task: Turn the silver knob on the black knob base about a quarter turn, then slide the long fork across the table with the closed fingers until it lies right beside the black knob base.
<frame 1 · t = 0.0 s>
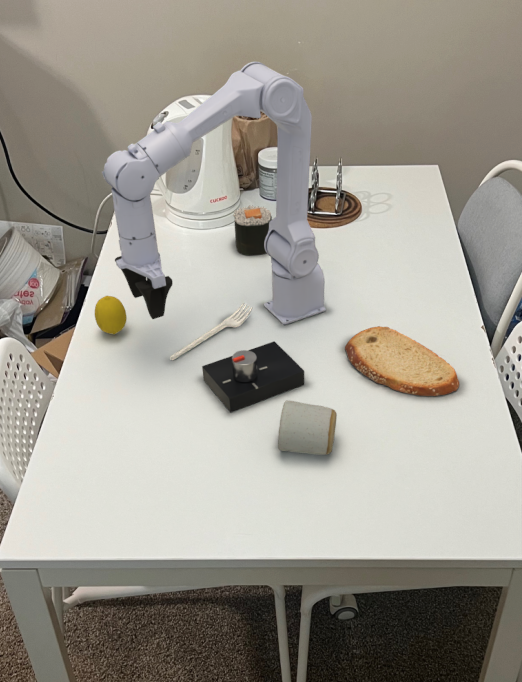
hand: (148, 305, 126), 10 cm above the table, tool pointing down, fingers open, 7 cm apart
hob knob: (244, 365, 122), point 5 cm above the table, hinge at 0.0°
fork: (211, 337, 137), on the table
sushi: (253, 247, 162), on the table
lemon: (114, 334, 137), on the table
ceramic mug: (306, 441, 115), on the table
black knob base: (253, 382, 126), on the table
bread slice: (399, 366, 130), on the table
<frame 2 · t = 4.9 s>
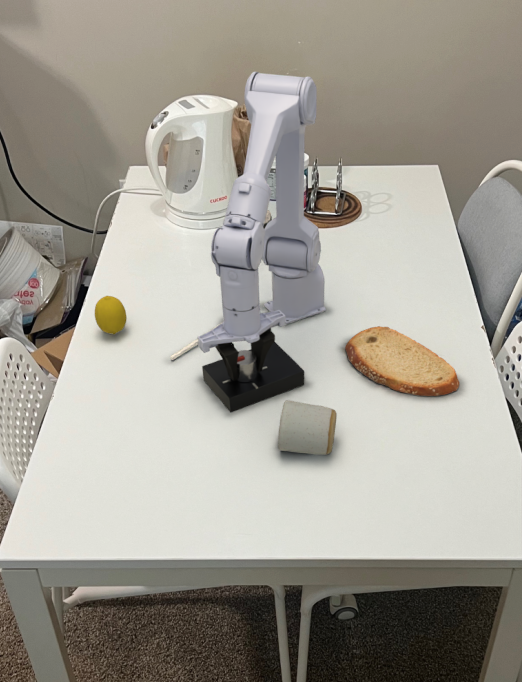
hand: (244, 372, 123), 4 cm above the table, tool pointing down, fingers closed on hob knob, 4 cm apart
hob knob: (244, 365, 122), point 5 cm above the table, hinge at 0.1°, touching gripper
everything else where it was.
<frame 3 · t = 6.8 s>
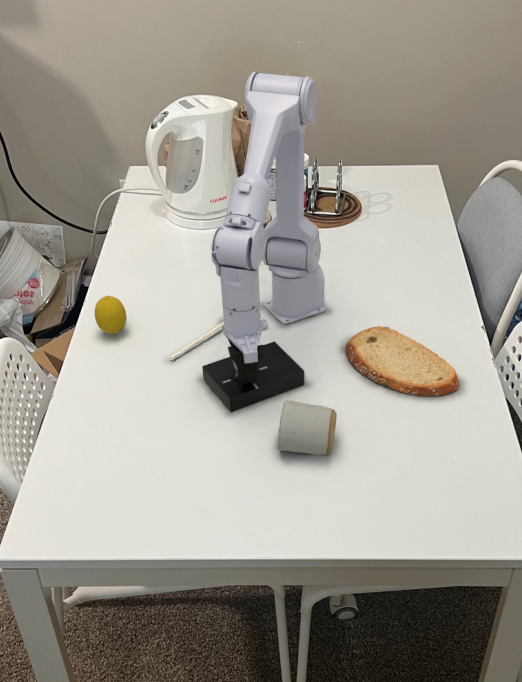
hand: (245, 372, 123), 4 cm above the table, tool pointing down, fingers closed on hob knob, 4 cm apart
hob knob: (244, 365, 122), point 5 cm above the table, hinge at 71.3°, touching gripper
everything else where it was.
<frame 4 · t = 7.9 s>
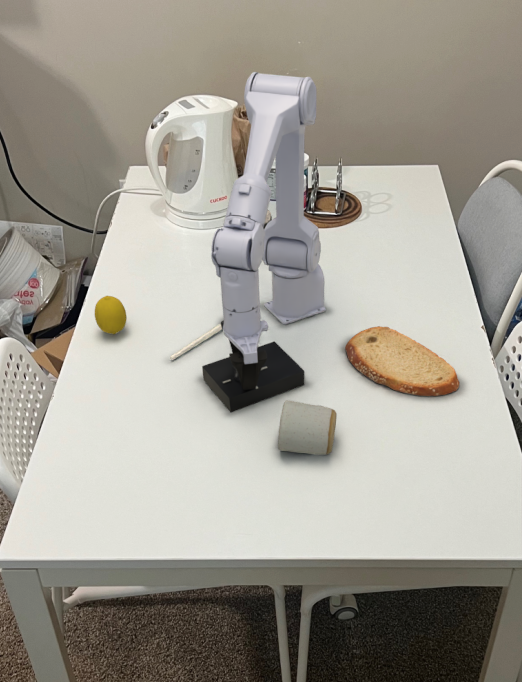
hand: (245, 373, 123), 3 cm above the table, tool pointing down, fingers open, 7 cm apart
hob knob: (244, 365, 122), point 5 cm above the table, hinge at 71.3°
everything else where it was.
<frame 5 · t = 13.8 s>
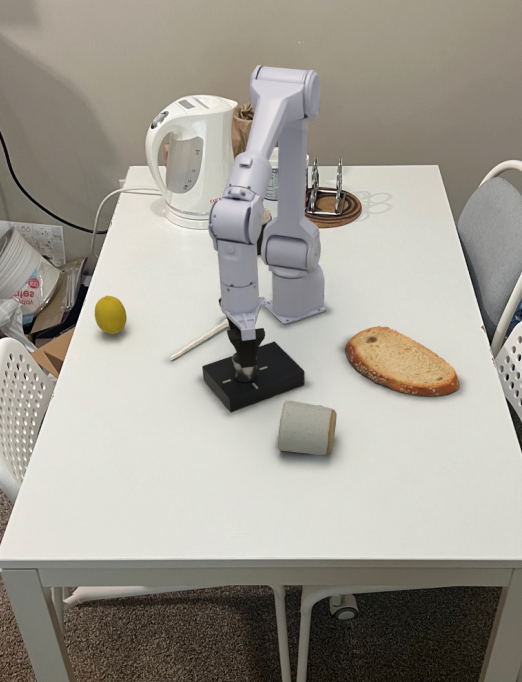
hand: (243, 352, 120), 7 cm above the table, tool pointing down, fingers open, 7 cm apart
nothing on the table moved.
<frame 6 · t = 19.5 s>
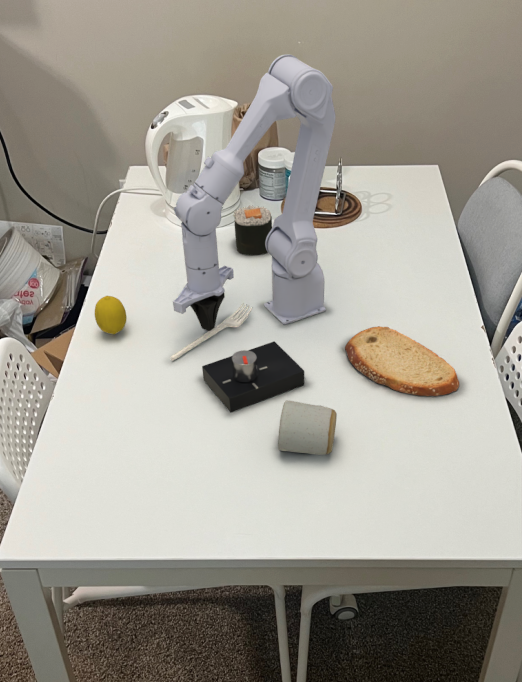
hand: (208, 328, 137), 1 cm above the table, tool pointing down, fingers closed, pressing on fork
fork: (211, 337, 137), on the table, touching gripper
everything else where it was.
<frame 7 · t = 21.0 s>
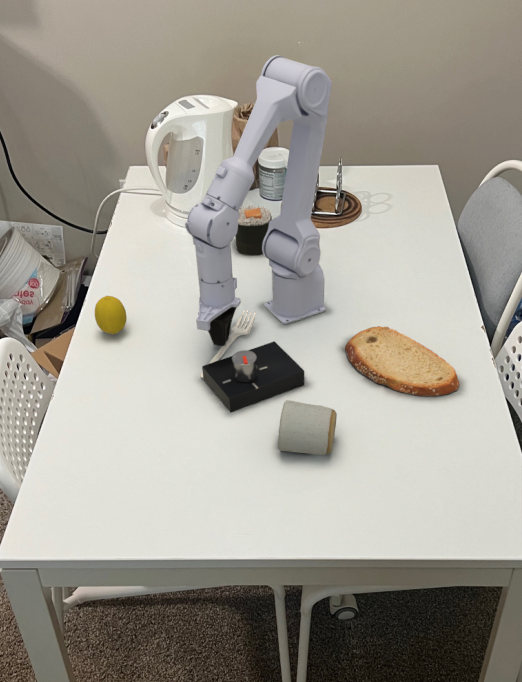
hand: (220, 342, 133), 1 cm above the table, tool pointing down, fingers closed
fork: (227, 348, 134), on the table, touching gripper, black knob base
everything else where it was.
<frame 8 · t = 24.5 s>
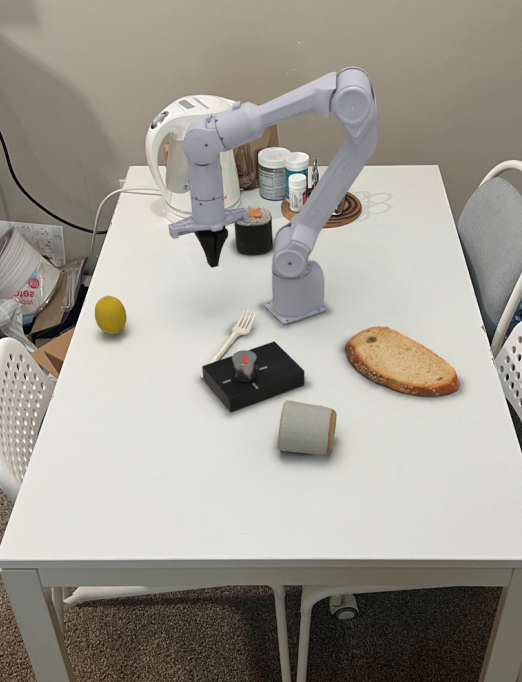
hand: (212, 264, 137), 9 cm above the table, tool pointing down, fingers closed
fork: (227, 348, 134), on the table
everything else where it was.
at the end: hob knob at +71° (first picture: +0°); fork inside the target area on the table beside the black knob base (1.8 cm from its centre), on the table; the gripper is holding nothing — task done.
